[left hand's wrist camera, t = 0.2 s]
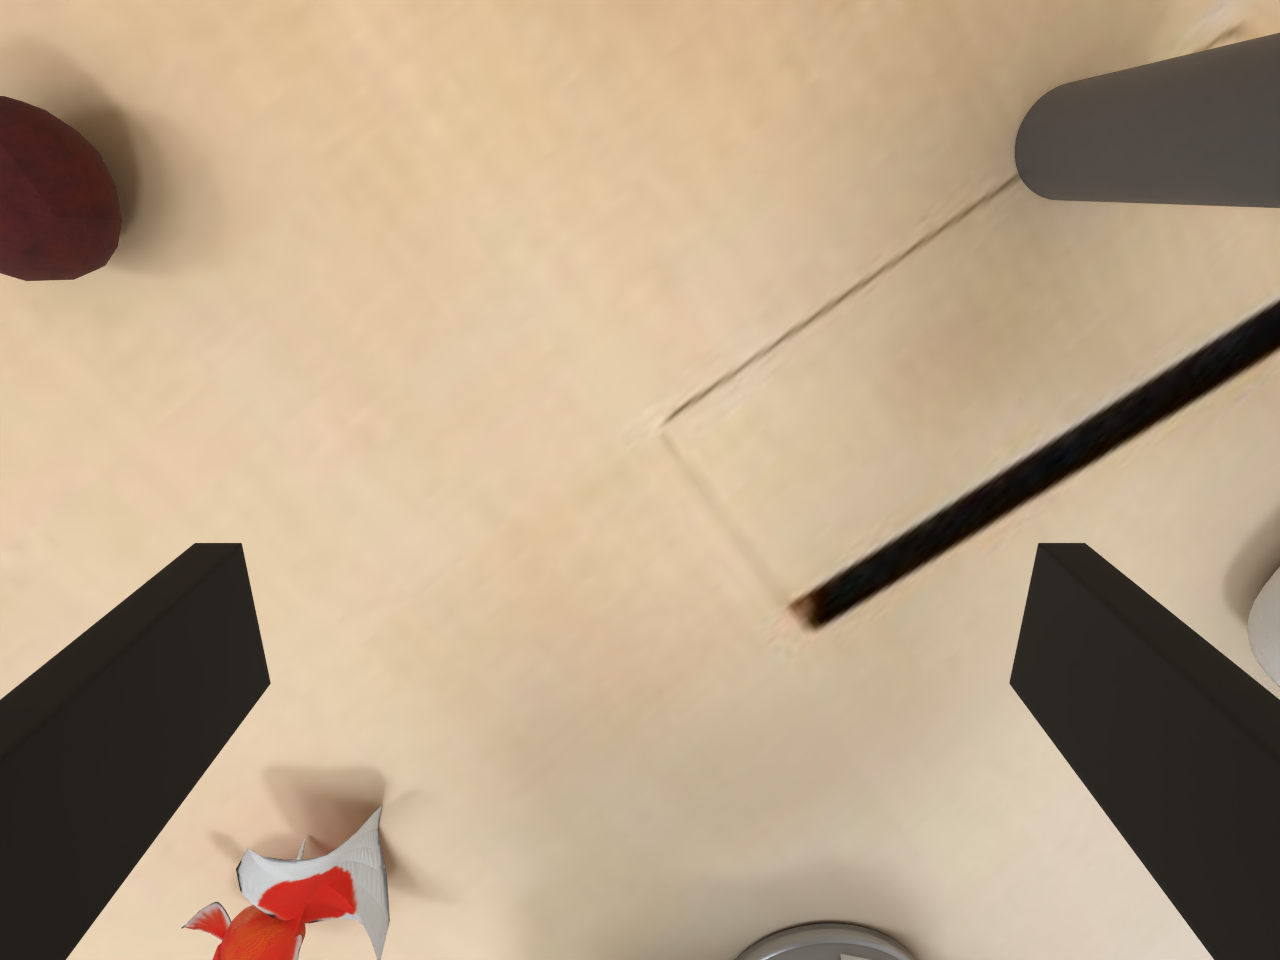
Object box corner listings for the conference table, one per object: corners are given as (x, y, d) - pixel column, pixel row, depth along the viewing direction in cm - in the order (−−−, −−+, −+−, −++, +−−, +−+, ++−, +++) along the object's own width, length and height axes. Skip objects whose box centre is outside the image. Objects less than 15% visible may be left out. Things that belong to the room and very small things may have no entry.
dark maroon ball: (65, 70, 35) (-70, 43, 28) (190, 220, 37) (93, 228, 30) (-42, 167, 36) (-193, 163, 30) (85, 306, 38) (-29, 331, 32)
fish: (107, 897, 47) (106, 1053, 39) (326, 723, 50) (365, 835, 43) (231, 954, 53) (251, 1097, 46) (417, 796, 57) (465, 905, 49)
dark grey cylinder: (1067, 57, 35) (1515, -76, 17) (1148, 123, 36) (1652, 61, 18) (991, 161, 36) (1330, 138, 18) (1071, 220, 37) (1466, 254, 19)
